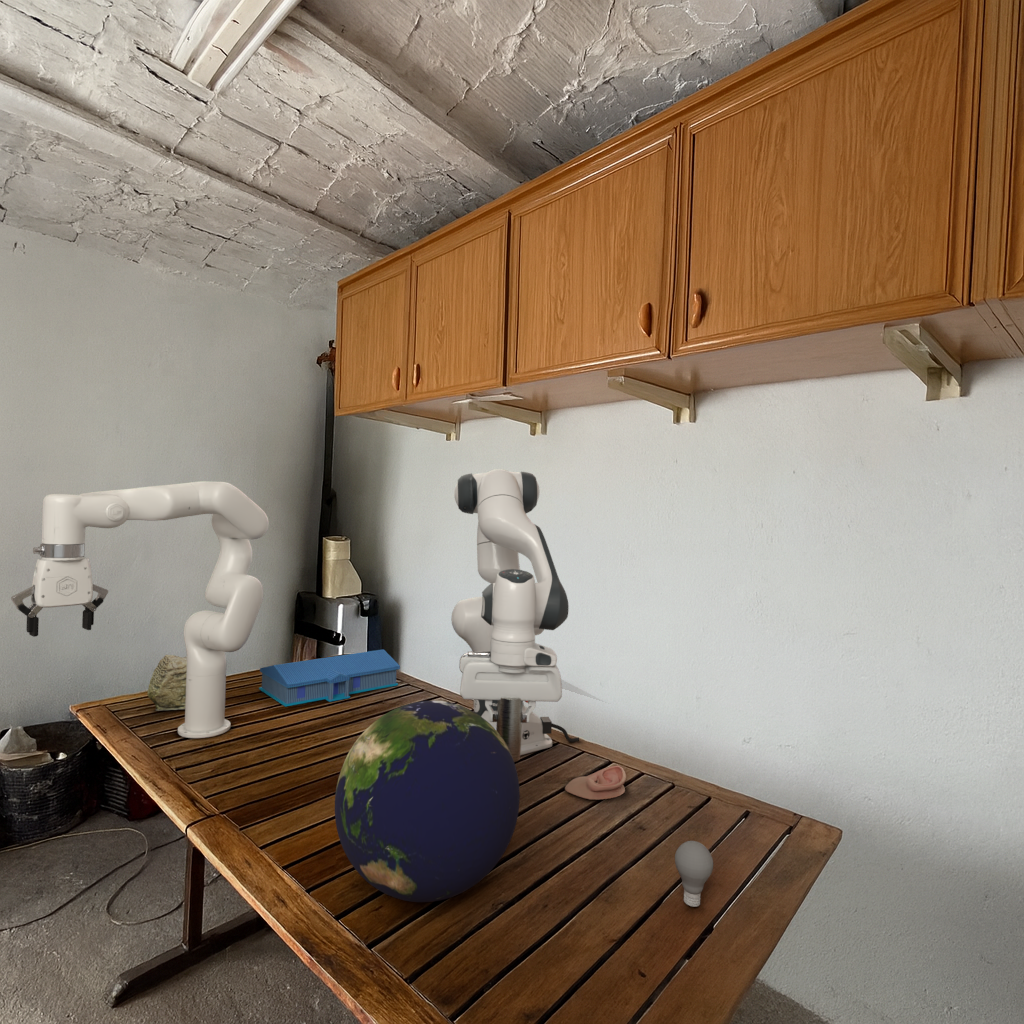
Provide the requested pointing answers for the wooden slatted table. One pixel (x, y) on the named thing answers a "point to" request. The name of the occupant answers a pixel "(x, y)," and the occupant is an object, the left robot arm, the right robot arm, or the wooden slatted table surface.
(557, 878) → the wooden slatted table surface
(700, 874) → the light bulb
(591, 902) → the wooden slatted table surface
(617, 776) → the rubber human ear
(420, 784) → the globe
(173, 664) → the fossil
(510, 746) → the tin
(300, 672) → the model building
